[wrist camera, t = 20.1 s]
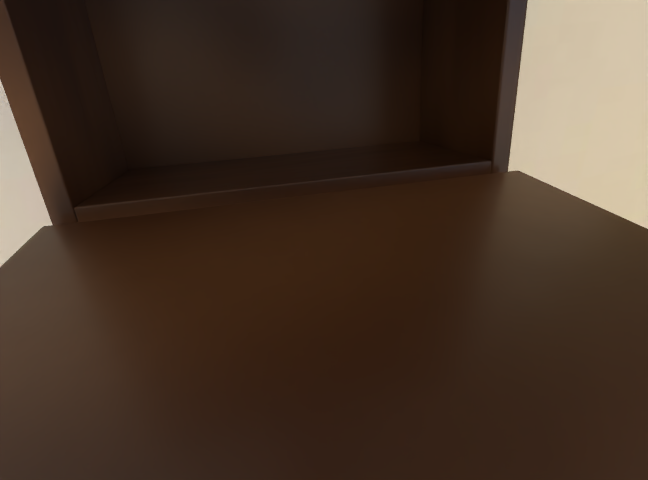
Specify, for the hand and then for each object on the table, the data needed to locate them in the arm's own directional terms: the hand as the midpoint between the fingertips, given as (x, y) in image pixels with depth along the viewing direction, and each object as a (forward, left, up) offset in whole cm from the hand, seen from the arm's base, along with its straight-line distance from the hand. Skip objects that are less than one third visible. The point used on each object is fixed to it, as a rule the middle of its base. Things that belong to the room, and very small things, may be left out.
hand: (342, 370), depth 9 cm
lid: (-2, 0, +2) cm, 3 cm away
